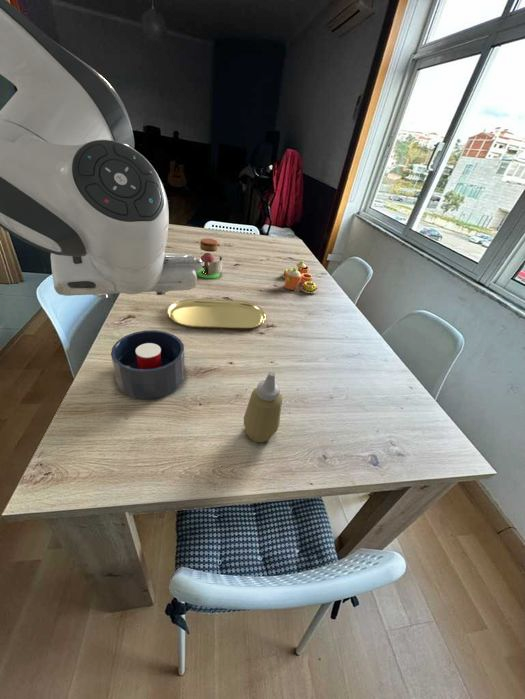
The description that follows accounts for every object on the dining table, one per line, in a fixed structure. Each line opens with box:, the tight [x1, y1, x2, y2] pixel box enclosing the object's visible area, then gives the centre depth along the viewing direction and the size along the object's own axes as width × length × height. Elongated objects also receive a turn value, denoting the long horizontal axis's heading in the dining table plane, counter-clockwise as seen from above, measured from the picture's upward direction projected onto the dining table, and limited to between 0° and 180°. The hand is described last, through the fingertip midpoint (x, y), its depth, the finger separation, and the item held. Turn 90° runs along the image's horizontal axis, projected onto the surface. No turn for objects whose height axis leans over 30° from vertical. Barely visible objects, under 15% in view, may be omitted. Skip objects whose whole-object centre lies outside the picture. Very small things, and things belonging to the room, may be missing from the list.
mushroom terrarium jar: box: [196, 237, 223, 280], centre depth 130 cm, size 12×13×15 cm
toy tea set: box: [282, 260, 318, 294], centre depth 139 cm, size 26×16×10 cm, turn 2°
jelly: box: [136, 343, 162, 369], centre depth 74 cm, size 6×6×8 cm
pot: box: [110, 329, 186, 400], centre depth 74 cm, size 17×17×9 cm
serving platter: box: [166, 298, 267, 330], centre depth 106 cm, size 19×35×2 cm, turn 99°
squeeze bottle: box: [243, 371, 283, 443], centre depth 62 cm, size 8×8×18 cm
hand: (132, 292), depth 52 cm, fingers open, 8 cm apart
